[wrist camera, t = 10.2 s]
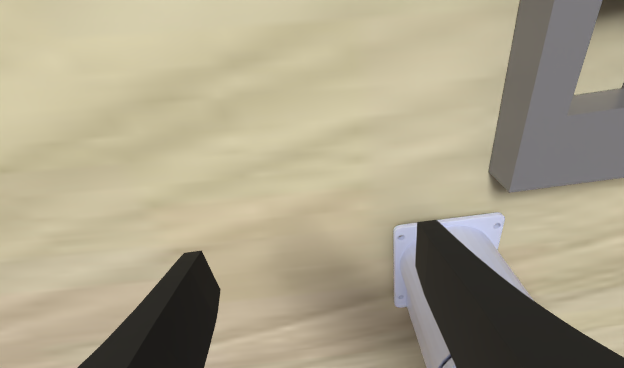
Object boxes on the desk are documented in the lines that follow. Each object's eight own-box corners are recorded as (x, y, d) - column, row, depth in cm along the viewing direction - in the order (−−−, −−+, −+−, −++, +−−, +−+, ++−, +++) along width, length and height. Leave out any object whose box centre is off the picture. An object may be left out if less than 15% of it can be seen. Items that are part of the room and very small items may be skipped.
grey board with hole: (628, 152, 21) (665, 172, 18) (488, 171, 21) (509, 192, 19) (777, -179, 13) (873, -211, 10) (545, -134, 13) (591, -157, 11)
